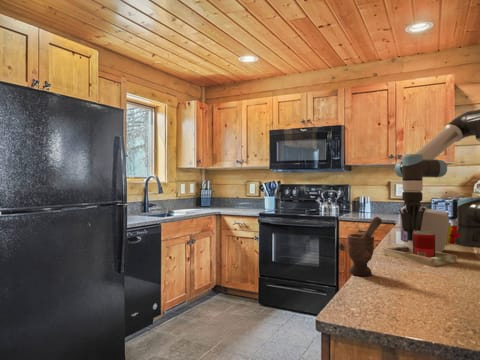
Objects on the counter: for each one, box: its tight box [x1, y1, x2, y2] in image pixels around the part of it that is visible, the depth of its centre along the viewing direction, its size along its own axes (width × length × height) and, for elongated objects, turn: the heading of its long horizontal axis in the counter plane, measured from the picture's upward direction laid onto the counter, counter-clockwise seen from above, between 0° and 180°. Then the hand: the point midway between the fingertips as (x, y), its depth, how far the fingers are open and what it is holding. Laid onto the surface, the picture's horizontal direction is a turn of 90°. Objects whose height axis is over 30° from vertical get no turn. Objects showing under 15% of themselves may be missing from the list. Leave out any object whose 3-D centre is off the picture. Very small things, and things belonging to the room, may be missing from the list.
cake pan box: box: [399, 206, 428, 242], centre depth 187 cm, size 19×5×18 cm, turn 122°
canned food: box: [413, 231, 435, 258], centre depth 140 cm, size 8×8×11 cm
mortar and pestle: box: [347, 216, 383, 277], centre depth 118 cm, size 12×9×20 cm
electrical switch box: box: [420, 206, 459, 253], centre depth 155 cm, size 15×15×20 cm
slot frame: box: [382, 245, 458, 267], centre depth 142 cm, size 15×22×3 cm
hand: (412, 248), depth 145 cm, fingers closed
